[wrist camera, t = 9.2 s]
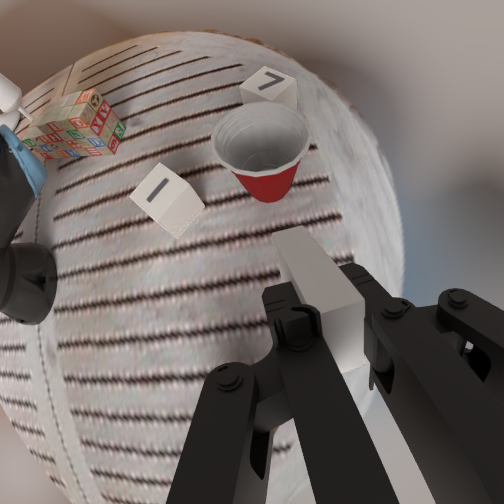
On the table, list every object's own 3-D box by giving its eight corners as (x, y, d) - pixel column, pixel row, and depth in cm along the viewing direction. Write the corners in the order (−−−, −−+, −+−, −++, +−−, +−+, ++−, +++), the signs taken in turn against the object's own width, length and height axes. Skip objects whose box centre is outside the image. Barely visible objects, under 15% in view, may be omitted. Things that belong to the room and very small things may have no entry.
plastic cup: (291, 143, 41) (289, 87, 29) (318, 205, 38) (329, 157, 26) (222, 165, 41) (200, 113, 30) (242, 229, 38) (222, 189, 27)
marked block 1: (151, 215, 41) (128, 196, 34) (178, 184, 42) (159, 160, 35) (177, 239, 39) (156, 221, 32) (206, 205, 40) (190, 182, 33)
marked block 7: (245, 115, 43) (238, 85, 36) (268, 94, 44) (264, 64, 37) (274, 131, 42) (271, 100, 35) (297, 108, 43) (297, 78, 36)
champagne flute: (28, 140, 52) (-28, 92, 29) (36, 121, 54) (-15, 73, 31) (44, 132, 51) (-14, 78, 28) (52, 112, 53) (0, 59, 30)
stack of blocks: (46, 160, 49) (12, 133, 37) (57, 136, 50) (26, 108, 38) (115, 155, 45) (78, 116, 33) (127, 127, 47) (95, 86, 35)
